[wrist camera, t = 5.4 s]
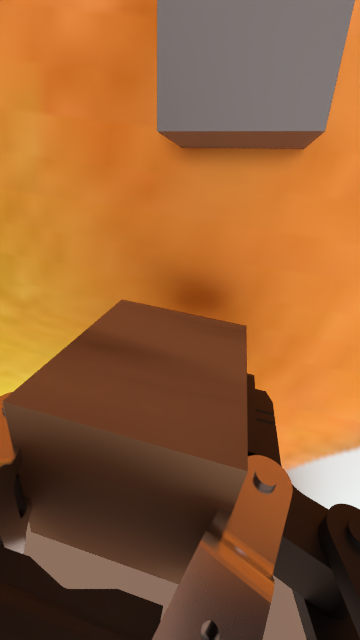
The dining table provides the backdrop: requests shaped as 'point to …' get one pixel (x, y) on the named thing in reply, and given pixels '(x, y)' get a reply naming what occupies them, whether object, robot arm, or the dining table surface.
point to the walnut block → (135, 436)
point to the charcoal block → (248, 70)
